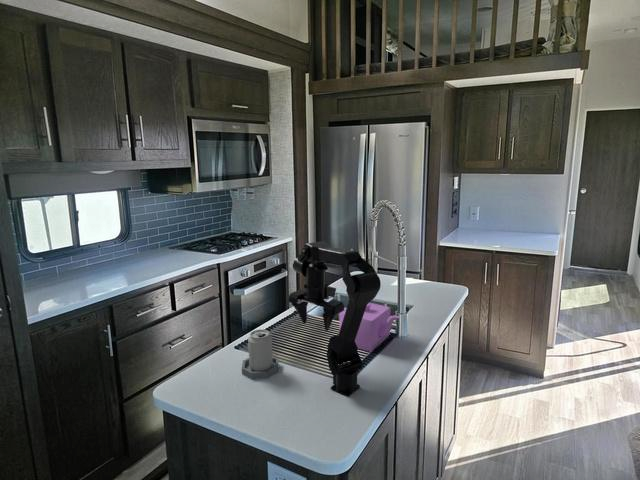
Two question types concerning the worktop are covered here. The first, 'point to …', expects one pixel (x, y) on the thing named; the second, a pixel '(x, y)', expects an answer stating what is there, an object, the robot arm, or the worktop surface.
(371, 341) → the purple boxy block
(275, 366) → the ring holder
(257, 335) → the can
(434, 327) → the worktop surface
